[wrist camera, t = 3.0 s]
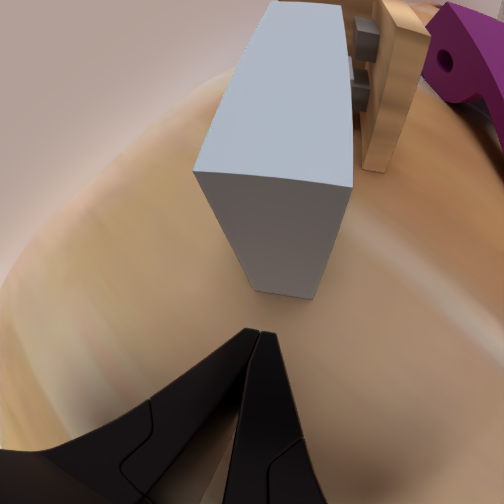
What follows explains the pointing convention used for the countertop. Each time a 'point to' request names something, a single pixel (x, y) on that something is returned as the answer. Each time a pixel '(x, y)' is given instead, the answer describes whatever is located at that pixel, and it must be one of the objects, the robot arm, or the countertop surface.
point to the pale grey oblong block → (284, 148)
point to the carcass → (382, 70)
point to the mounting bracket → (467, 60)
